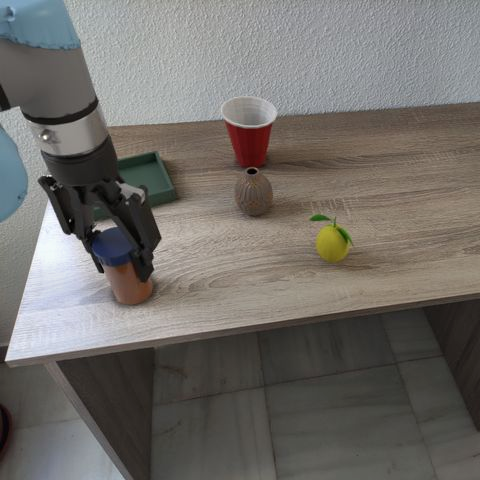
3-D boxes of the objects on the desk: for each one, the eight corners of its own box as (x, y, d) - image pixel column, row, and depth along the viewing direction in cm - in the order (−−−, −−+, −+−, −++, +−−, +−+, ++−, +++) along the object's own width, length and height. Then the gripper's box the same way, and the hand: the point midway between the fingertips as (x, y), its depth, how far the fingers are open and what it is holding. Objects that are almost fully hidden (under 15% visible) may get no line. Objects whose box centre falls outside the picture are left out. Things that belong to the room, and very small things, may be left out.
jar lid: (99, 273, 64) (95, 263, 62) (92, 243, 67) (88, 233, 66) (145, 258, 66) (142, 249, 64) (136, 230, 69) (133, 221, 68)
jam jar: (119, 310, 70) (98, 264, 63) (112, 283, 74) (91, 236, 66) (156, 297, 72) (140, 251, 65) (148, 272, 76) (132, 225, 68)
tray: (91, 222, 83) (86, 211, 81) (80, 179, 91) (76, 168, 89) (176, 199, 88) (174, 188, 86) (159, 160, 96) (156, 150, 94)
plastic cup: (276, 177, 94) (274, 126, 85) (222, 175, 94) (215, 123, 85) (280, 146, 101) (279, 95, 93) (230, 143, 101) (224, 92, 92)
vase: (249, 226, 84) (245, 189, 78) (229, 205, 88) (224, 168, 81) (280, 211, 87) (279, 173, 81) (260, 191, 91) (257, 154, 84)
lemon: (307, 248, 81) (309, 205, 74) (339, 241, 82) (344, 198, 75) (320, 277, 77) (323, 234, 69) (353, 269, 78) (360, 226, 71)
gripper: (-24, 144, 52) (53, 277, 68) (136, 174, 49) (175, 304, 66) (21, 110, 57) (83, 241, 73) (168, 136, 54) (197, 265, 71)
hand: (126, 271), depth 70 cm, fingers closed on jar lid, 6 cm apart
